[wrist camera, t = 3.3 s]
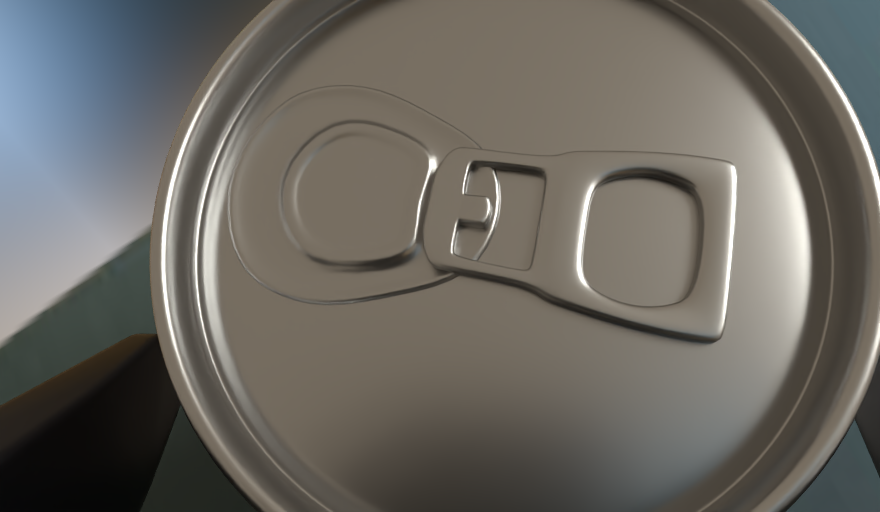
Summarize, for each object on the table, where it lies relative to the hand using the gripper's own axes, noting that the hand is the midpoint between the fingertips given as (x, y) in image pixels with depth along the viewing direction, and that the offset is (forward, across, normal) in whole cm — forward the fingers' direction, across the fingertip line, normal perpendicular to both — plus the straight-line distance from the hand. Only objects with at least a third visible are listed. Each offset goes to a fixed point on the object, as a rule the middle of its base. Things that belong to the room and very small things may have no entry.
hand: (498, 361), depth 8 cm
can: (+7, 0, +6) cm, 9 cm away
